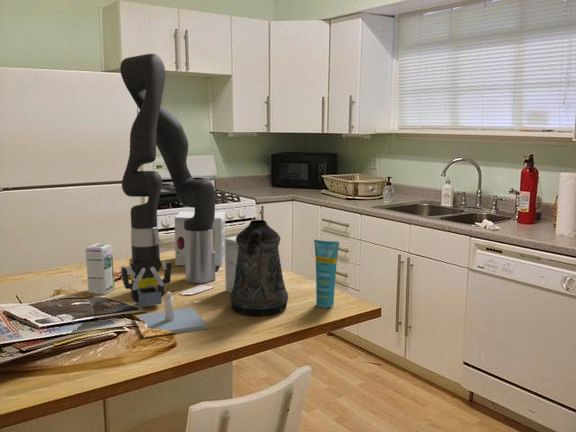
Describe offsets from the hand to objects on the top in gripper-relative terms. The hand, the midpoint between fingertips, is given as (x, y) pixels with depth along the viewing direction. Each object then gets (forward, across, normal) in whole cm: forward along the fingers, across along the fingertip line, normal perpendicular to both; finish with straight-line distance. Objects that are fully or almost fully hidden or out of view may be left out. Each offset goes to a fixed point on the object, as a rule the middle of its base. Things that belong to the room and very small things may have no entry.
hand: (148, 299), depth 154 cm
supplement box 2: (+3, -28, -41) cm, 49 cm away
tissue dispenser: (+1, 0, 0) cm, 1 cm away
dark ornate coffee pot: (+2, -28, +15) cm, 32 cm away
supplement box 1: (+2, -2, -13) cm, 13 cm away
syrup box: (+2, +10, -19) cm, 22 cm away
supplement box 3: (+3, -30, -2) cm, 31 cm away
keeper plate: (+2, -2, +16) cm, 16 cm away
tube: (+3, -46, +20) cm, 51 cm away
